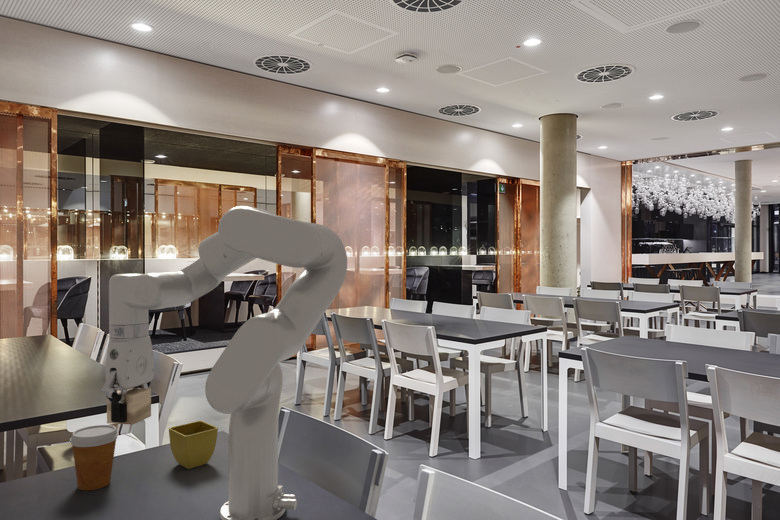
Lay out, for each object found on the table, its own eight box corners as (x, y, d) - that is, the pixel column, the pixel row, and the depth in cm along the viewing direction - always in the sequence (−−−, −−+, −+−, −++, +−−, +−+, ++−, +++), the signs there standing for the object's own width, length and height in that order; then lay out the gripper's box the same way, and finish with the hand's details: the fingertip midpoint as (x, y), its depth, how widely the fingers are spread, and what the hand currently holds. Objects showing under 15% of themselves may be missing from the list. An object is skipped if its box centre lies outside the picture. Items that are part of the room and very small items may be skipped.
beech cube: (151, 416, 115) (150, 388, 115) (133, 424, 109) (133, 395, 109) (126, 415, 116) (125, 387, 116) (107, 423, 110) (106, 394, 110)
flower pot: (218, 463, 131) (219, 427, 131) (185, 474, 125) (185, 436, 125) (200, 455, 137) (200, 420, 137) (167, 464, 131) (167, 428, 131)
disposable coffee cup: (59, 488, 117) (60, 433, 117) (101, 473, 125) (101, 421, 125) (86, 497, 112) (87, 440, 112) (127, 481, 121) (128, 428, 121)
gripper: (117, 338, 104) (118, 430, 104) (168, 327, 121) (169, 407, 121) (83, 337, 105) (84, 429, 105) (138, 326, 122) (139, 405, 122)
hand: (129, 416), depth 113 cm, fingers closed on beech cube, 6 cm apart
